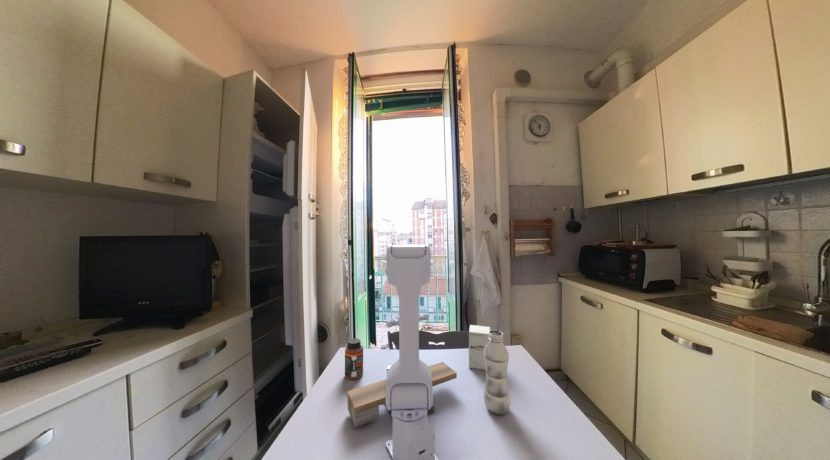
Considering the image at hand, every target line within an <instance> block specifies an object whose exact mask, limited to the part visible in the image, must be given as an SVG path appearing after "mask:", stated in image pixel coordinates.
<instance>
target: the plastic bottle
mask: <svg viewBox="0 0 830 460" xmlns="http://www.w3.org/2000/svg"><path fill="white" fill-rule="evenodd" d="M488 339H489V342H488V343H487V344H486V346H485V348H484V359H485V366H486V370H485V387H484V392H483V400H484V405H485V406H486V408H487V409H488V411H490V413H493V414H496V415H504V414H506V413H507V412H508V411H509V409H510V405H511V400H510V394H509V388H508V387H509V386H508V366H509V358H510V357H509V356H510V354H509V351H508V349H507V347H506V346H505V344H504V343H503V342H504V333H503V332H502V331H499V330H496V329H495V330H494V329H490V331H489V337H488Z"/></svg>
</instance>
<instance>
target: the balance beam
mask: <svg viewBox="0 0 830 460" xmlns="http://www.w3.org/2000/svg"><path fill="white" fill-rule="evenodd" d="M428 366H429V369H430V370H431V376H432V387H436V386H438V385H441V384H443V383H446V382H450V381H452V380H455V379H457V377H458V375H457V372H456V371H455V370H454V369H452V368H451V367H450V366H449V365H448V364H446V363H445V362H443V361H442V362H438V363H435V364H432V365H428ZM386 380H387V378H386V379H384V380H379V381H376V382H373V383H369V384H367V385H364V386H361V387H356V388H354V389H351V390H347V411H348V414H349V416H350V418H351V419H350V420H351V421H352V425H353V427H354V428H357V427H359V426H362V425H364V424H367V423H370V422H373V421H375V420H378V419H379V418H380V406H382V405H386V404H385V403H386Z"/></svg>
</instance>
